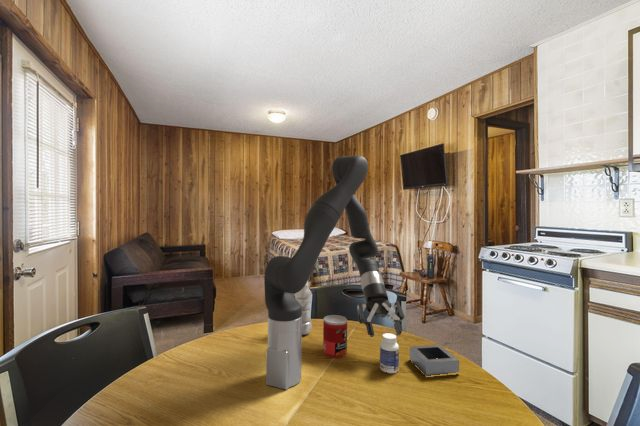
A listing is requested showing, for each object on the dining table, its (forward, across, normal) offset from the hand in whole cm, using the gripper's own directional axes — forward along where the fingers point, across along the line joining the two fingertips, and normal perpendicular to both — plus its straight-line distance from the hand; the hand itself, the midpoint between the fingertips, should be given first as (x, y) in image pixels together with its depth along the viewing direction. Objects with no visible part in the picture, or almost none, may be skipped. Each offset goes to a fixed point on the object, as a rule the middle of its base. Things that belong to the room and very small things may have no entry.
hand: (386, 335), depth 89 cm
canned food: (-1, -14, +13) cm, 19 cm away
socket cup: (+9, +13, +4) cm, 17 cm away
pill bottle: (+8, 0, +4) cm, 9 cm away
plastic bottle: (-12, -22, +25) cm, 36 cm away
